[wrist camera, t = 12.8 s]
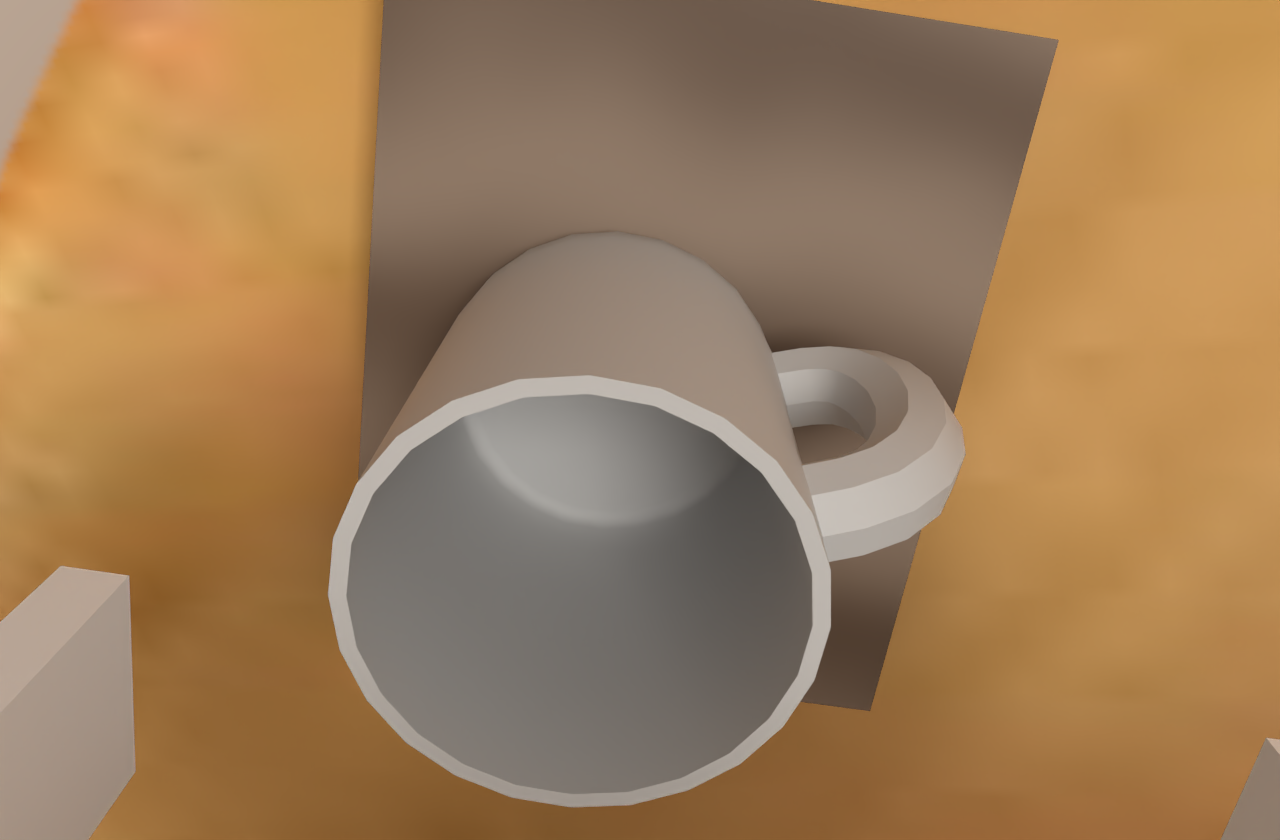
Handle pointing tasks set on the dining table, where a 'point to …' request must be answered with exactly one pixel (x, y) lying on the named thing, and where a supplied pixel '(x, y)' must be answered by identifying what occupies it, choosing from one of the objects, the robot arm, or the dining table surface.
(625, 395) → the cup
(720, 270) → the board
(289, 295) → the dining table surface
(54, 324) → the dining table surface
